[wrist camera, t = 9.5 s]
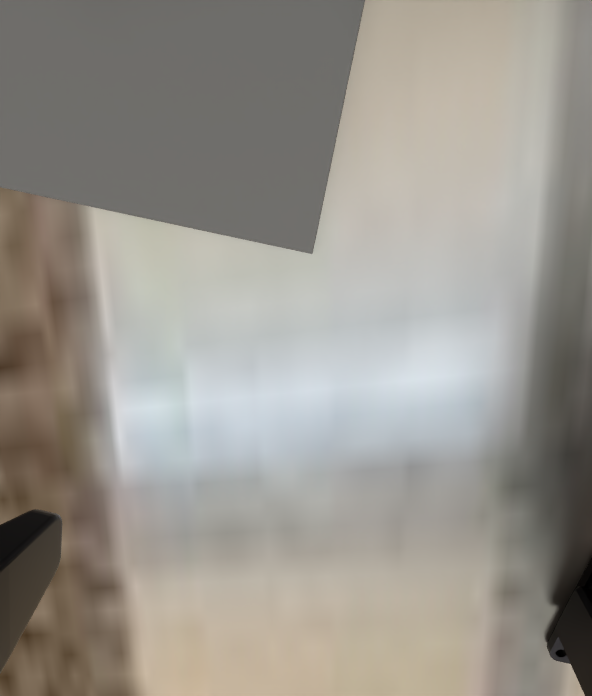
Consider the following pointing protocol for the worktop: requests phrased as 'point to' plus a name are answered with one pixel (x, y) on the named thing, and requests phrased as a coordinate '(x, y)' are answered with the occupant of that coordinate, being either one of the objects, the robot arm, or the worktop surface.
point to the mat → (178, 108)
